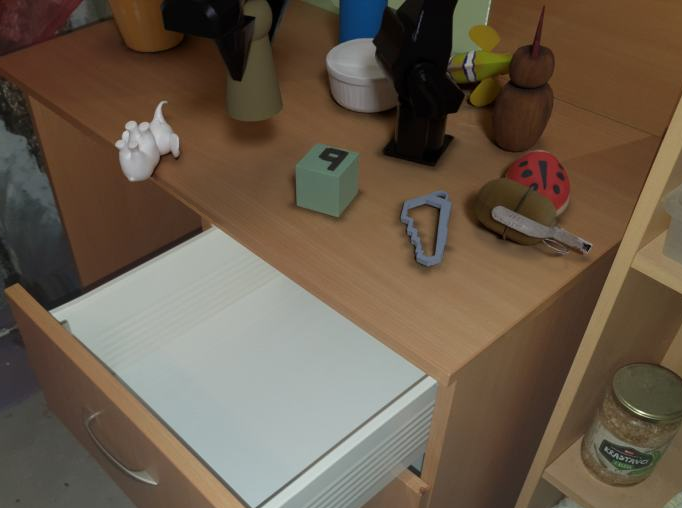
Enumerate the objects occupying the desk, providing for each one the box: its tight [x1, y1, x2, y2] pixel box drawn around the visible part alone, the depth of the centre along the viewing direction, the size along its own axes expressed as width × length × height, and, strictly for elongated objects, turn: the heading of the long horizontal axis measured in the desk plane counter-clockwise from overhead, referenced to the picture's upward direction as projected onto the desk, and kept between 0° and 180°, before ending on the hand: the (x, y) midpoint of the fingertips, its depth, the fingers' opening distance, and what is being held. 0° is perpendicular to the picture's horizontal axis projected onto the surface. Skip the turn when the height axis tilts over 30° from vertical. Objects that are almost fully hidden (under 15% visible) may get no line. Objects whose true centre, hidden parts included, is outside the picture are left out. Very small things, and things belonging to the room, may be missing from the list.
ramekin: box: [325, 38, 398, 114], centre depth 92 cm, size 11×11×5 cm
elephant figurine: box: [114, 100, 181, 183], centre depth 83 cm, size 7×12×6 cm, turn 161°
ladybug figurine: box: [504, 149, 571, 218], centre depth 76 cm, size 7×10×4 cm
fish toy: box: [447, 24, 513, 107], centre depth 92 cm, size 15×10×12 cm
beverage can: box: [338, 0, 389, 45], centre depth 98 cm, size 6×6×12 cm
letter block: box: [294, 142, 360, 218], centre depth 77 cm, size 5×5×5 cm
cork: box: [225, 0, 284, 122], centre depth 73 cm, size 6×6×11 cm
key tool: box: [400, 190, 453, 267], centre depth 74 cm, size 12×1×5 cm
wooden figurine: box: [491, 5, 556, 153], centre depth 79 cm, size 7×6×15 cm
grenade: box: [474, 177, 593, 256], centre depth 71 cm, size 6×6×12 cm
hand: (249, 71), depth 74 cm, fingers closed on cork, 4 cm apart
